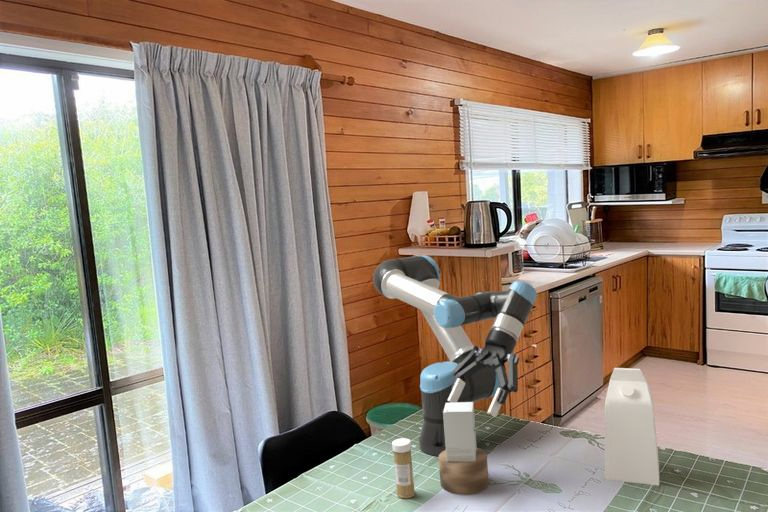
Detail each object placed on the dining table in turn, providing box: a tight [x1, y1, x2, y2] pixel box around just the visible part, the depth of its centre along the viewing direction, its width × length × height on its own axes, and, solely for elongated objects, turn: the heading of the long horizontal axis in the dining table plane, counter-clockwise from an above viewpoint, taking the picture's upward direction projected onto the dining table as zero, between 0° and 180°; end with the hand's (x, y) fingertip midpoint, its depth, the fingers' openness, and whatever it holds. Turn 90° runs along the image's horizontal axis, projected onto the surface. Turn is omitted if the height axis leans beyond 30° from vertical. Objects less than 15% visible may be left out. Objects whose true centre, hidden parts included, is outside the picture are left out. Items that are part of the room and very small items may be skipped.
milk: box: [604, 367, 660, 487], centre depth 142 cm, size 12×12×26 cm
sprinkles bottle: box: [391, 438, 416, 499], centre depth 140 cm, size 5×5×13 cm
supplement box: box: [443, 402, 478, 462], centre depth 143 cm, size 7×7×13 cm
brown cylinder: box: [438, 447, 490, 496], centre depth 144 cm, size 12×12×7 cm
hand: (470, 408), depth 144 cm, fingers open, 13 cm apart
